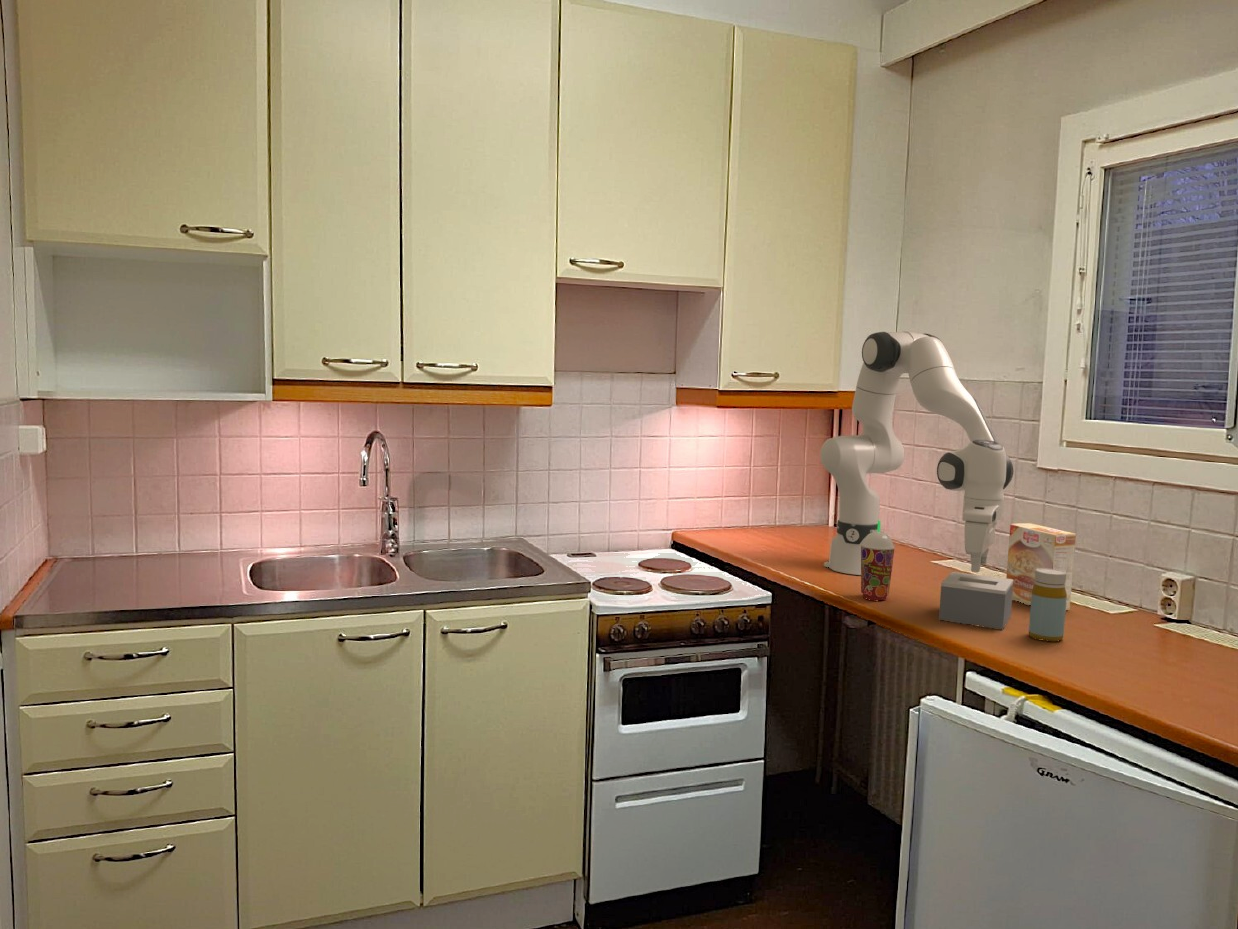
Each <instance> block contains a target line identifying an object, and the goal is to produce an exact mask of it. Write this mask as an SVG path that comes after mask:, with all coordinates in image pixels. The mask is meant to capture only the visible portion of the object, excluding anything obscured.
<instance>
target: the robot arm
mask: <svg viewBox="0 0 1238 929" xmlns="http://www.w3.org/2000/svg"><path fill="white" fill-rule="evenodd" d="M861 358H862V361H863V363H862V366H861V368H860V371H859V373H858V378H857V382H856V387H855V390H854V391H855V392H854V396H853V401H852V406H851V412H852V415H853V416H854V418H855V420H857V421H858V422H859V423H860V424H862V425H861V426H862V433H861V435H860V434H859V435H857V434H854V435H849V434H848V435H838V436H833V437H831V438H828V439H826V440H825V441H824V443H823V444H822V446H821V448H820V452H819V453H820V456H819V457H820V461H821V464H822V466H823V468H824V469H825V470H826V471H827V472H828V473H829V474H830V475H831V476H832V477H833V479H834V481H835V483H836V486H837V490H838V495H839V511H838V512H839V515H838V516H839V517H838V520H837V522H836V523H837V524H836V533H837V534H836V535H835V536H833V537H832V538H831V541H830V549H829V557H828V559H829V560H828V561H825V562H823V567H825V568H826V567H827V568H828V567H829V568H828V569H831V570H832V571H834V572H837V573H838V572H839V573H843V574H847V575H858V576H861V543H862V542H863V540H864V538H865V537H866V536H867V535H868V534H869V533H871V532H875V531H877V528H878V521H880V505H881V504H880V502H881V497H880V495H879V493H878V492H877V491H876V490H875V489H874V488H871V487H870V486H869V485H868V482H867V474H869V475H870V474H872V475H873V474H885V473H889V472H893V471H896V470H899V468H901V466H902V465H903V462H904V460H905V456H906V455H905V449H904V445H903V444H902V442H901V441H900V440H899V438H898V437H897V436H896V434H895V431H894V428H893V414H894V407H895V402H896V398H897V394H898V388H899V383H900V379H901V376H902V375H904V374H908V379H909V381H910V382H909V383H910V385H911V389H912V394H913V395H914V397H915V400H916V401H917V402H918V404H919V405H920V406H921V407H922V408H923V409H924V410H926V411H928V412H931V413H933V414H936V415H940V416H942V417H944V418H948V419H950V420H952V421H954V422H956V423H957V424H958V425H959V426H960V427H962V428H963V430H964V431H965V433H966V435H967V437H968V439H969V441H970V442H969V443H968V444H967V445H966V446H965V447H963V448H960V449H957V450H954V451H949V452H948V451H947V452H945V453H944V454H943V455H942V456H941V457H940V459H939V461H938V462H937V467H936V476H937V480H938V482H939V483H940V484H941V486H942V487H943V488H944V489H946V490H949V491H953V492H954V491H956V492H958V491H959V492H962V491H963V492H964V494H963V503H962V504H963V505H962V506H963V507H962V516H961V517H962V521H964V551H965V554H966V555H969V556H970V562H971V565H970V566H971V567H970V571H971V572H972V573H979V572H980V571H981V566H985V565H986V564H987V561H988V560H987V559H988V553H989V549H990V547H991V546H993V544H994V542H995V537H996V536H995V535H996V526H997V522H998V521H999V520H1000V521H1001V520H1002V519H1003V518H1004V507H1005V494H1004V490H1005V489H1006V488H1007V487H1008V486H1009V484H1010V483H1011V482H1012V480H1013V477H1014V472H1015V471H1014V465H1013V463H1012V460H1011V459H1010V456H1008V454H1007V453H1006V449H1005V447H1004V445H1003V444H1001V443H1000V442H999V441H998V438H997V436H996V434H995V433H994V430H993V428H992V426H991V424H990V423H989V422H990V421H988V418H987V417H986V414H985V412H984V410H983V409H982V406H981V405H980V404H979V402H978V400H977V399H976V398H975V396H973V395H972V394H970V392H969V391H968V390H967V389H966V388H965V386H964V385H963V384H962V382H961V381H960V379H959V377H958V375H957V372H956V370H955V367H954V363H953V361H952V359H951V357H950V355H949V353H948V351H947V349H946V347H945V346H944V344H943V342H942V341H941V339H940V338H939V337H937V336H935V335H932V334H930V333H919V332H913V331H892V332H891V331H890V332H889V331H888V332H886V331H877V332H874V333H871V334H869V335H868V336H867V337H866V339H865V340H864V343H863V344H862V347H861ZM880 526H881V523H880Z"/></svg>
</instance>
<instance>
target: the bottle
mask: <svg viewBox="0 0 1238 929" xmlns="http://www.w3.org/2000/svg"><path fill="white" fill-rule="evenodd" d="M1065 582H1066V572H1064V571H1061V570H1056V569H1048V568H1039V569H1036V571H1035V585H1034V587H1033V589H1032V595H1031V606H1030V607H1029V608H1030V610H1029V621H1028V622H1029V623H1028V635H1029V636H1030V637H1031V636H1032V637H1034V638H1036V639H1035V640H1037V639H1043V640H1048V641H1058V640H1060V641H1061V640H1063V638H1064V633H1065V621H1066V620H1065V619H1066V599H1067V593H1066V590H1065ZM1032 637H1031V638H1032ZM1034 638H1033V639H1034ZM1058 642H1059V641H1058Z"/></svg>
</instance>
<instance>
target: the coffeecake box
mask: <svg viewBox="0 0 1238 929" xmlns="http://www.w3.org/2000/svg"><path fill="white" fill-rule="evenodd" d="M1076 535H1077V534H1076V533H1075V532H1069V531H1065V530H1060V529H1057V528H1053V527H1049V526H1044V525H1039V524H1035V523H1031V522H1029V523H1028V522H1026V523H1018V522H1016V523H1010V524H1009V538H1008V550H1007V551H1008V552H1007V565H1006V566H1007V567H1006V578H1005V579H1013V594H1012V601H1014V600H1016V601H1015V602H1017V601H1019V602H1018V603H1020V602H1021V603H1020V604H1023V603H1024V604H1023V605H1027V606H1029V605H1031V595H1032V589H1033V587H1034V585H1035V571H1036V569H1039V568H1048V569H1056V570H1061V571H1064V572H1066V582H1065V590H1066V593H1067V599H1066V610H1068V611H1070V608H1071V595H1072V585H1073V584H1072V583H1073V571H1074V559H1075V548H1076Z"/></svg>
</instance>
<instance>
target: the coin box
mask: <svg viewBox="0 0 1238 929" xmlns="http://www.w3.org/2000/svg"><path fill="white" fill-rule="evenodd" d="M1012 594H1013V579H1006V578H1004V577H995V576H990V575H989V576H988V575H983V574H982V575H981V574H974V573H966V572H958V571H952V572H951V573H949V575H947V576H946V577H945V578H944V580H942V581H941V585H940V594H939V595H940V597H939V612H938V620H939V619H940V620H945V621H944V622H947V621H951V622H950V623H953V622H957V623H956V624H960V623H962V624H961V625H966V624H973V625H979V626H984V627H983V628H986V627H991V628H990V629H992V628H996V629H995V630H999V629H1003V628H1004V629H1005V627H1006V625H1007V624H1008V622H1007V621H1009V620H1010V619H1011V617H1012V605H1013V600H1012ZM1010 616H1011V617H1010ZM1009 618H1010V619H1009ZM1008 619H1009V620H1008ZM940 620H939V621H940ZM1006 623H1007V624H1006ZM1005 624H1006V625H1005ZM973 625H972V626H973ZM979 626H978V627H979ZM1004 629H1003V630H1004Z"/></svg>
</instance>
